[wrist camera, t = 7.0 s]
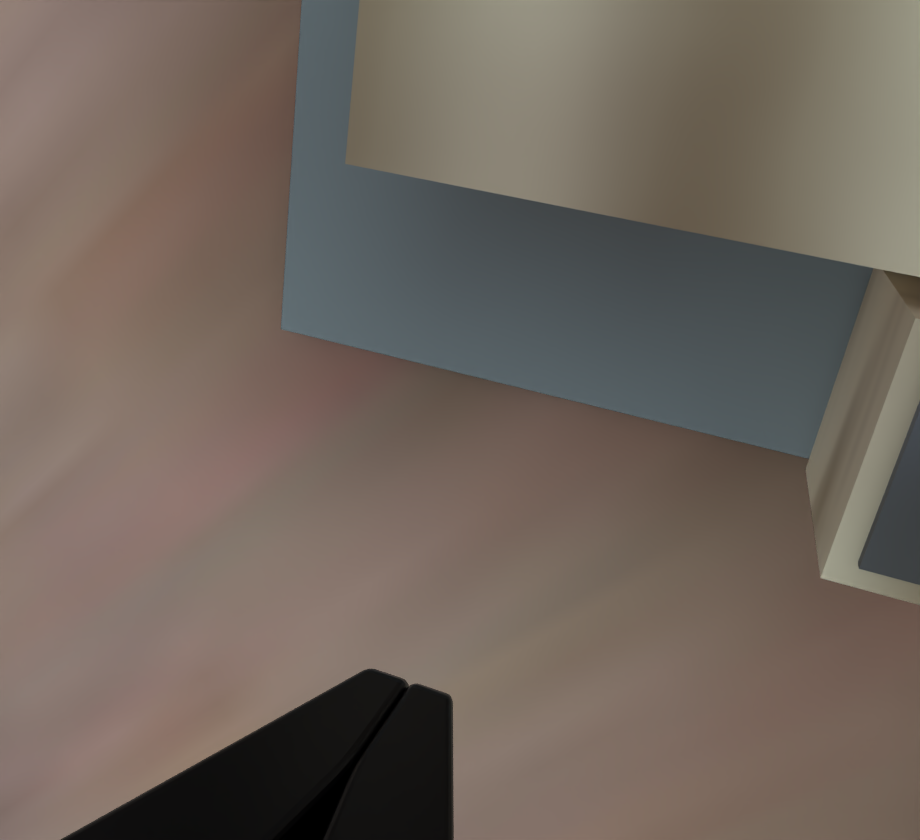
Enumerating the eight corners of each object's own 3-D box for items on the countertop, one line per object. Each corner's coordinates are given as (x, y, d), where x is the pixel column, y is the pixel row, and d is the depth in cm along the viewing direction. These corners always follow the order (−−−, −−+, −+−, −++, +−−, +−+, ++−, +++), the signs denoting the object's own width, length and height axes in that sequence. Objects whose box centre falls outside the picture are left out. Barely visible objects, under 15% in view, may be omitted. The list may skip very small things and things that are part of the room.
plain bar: (1158, -11, 14) (1296, -39, 11) (1044, 264, 16) (1128, 318, 12) (452, -98, 17) (371, -144, 13) (423, 147, 19) (345, 163, 15)
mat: (1466, -366, 12) (1489, -381, 12) (1050, 510, 18) (1057, 519, 17) (338, -415, 16) (329, -426, 16) (288, 324, 21) (281, 328, 21)
